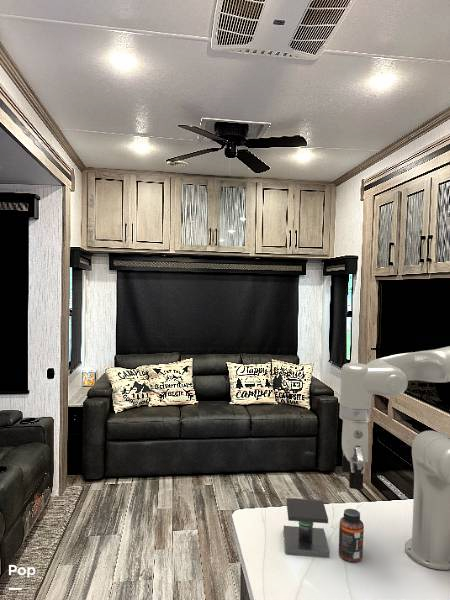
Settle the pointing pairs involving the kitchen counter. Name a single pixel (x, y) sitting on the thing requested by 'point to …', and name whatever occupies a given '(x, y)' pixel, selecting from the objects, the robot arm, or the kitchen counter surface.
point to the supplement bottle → (351, 536)
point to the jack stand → (306, 528)
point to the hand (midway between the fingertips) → (351, 479)
